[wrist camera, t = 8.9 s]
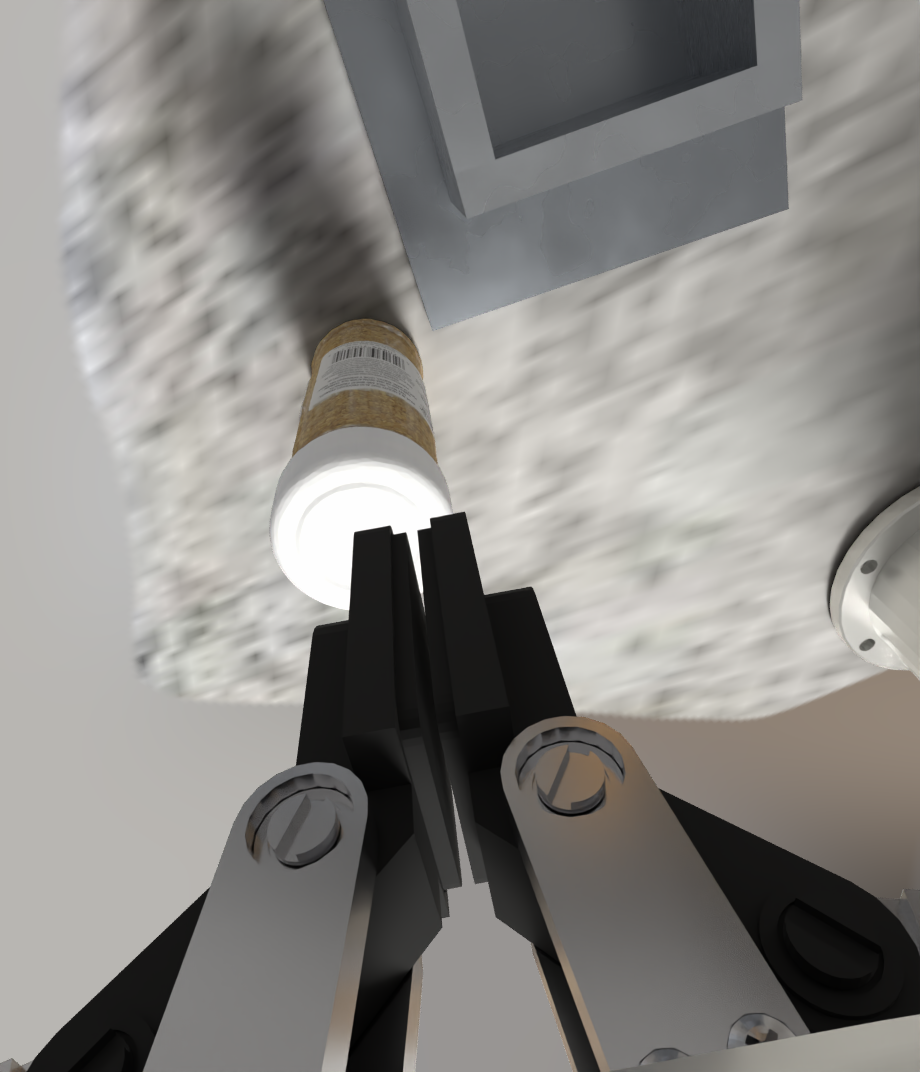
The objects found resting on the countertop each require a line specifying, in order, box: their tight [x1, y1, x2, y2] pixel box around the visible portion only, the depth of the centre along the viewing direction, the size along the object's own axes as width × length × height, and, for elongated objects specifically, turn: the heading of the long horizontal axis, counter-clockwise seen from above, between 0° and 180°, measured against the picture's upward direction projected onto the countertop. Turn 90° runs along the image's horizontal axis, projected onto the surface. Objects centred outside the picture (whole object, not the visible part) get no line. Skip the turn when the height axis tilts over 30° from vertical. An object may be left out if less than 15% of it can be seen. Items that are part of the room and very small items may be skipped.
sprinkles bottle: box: [269, 319, 453, 610], centre depth 22 cm, size 5×5×14 cm
